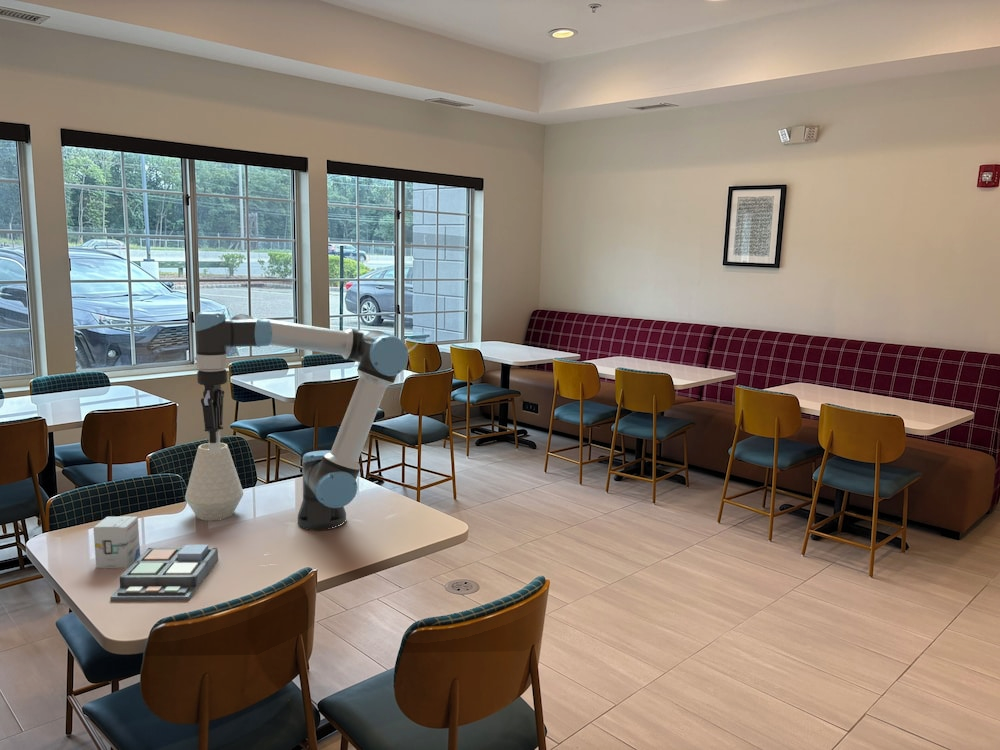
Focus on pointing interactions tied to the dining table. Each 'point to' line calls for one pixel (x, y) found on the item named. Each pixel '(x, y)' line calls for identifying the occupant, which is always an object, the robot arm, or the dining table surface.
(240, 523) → the dining table surface
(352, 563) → the dining table surface
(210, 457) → the vase
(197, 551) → the key slate
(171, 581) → the keypad
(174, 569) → the key cream
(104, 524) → the ink box
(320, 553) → the dining table surface
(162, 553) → the key terracotta
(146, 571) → the key sage
